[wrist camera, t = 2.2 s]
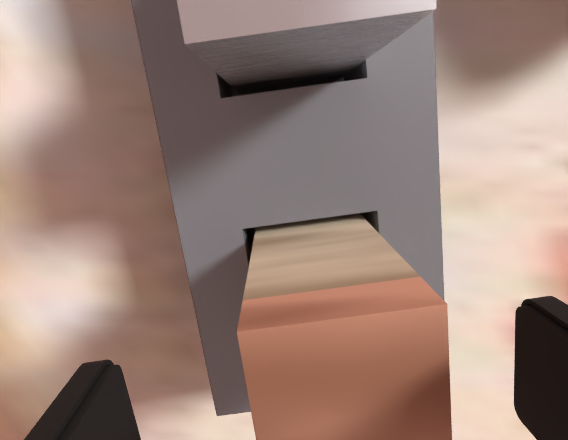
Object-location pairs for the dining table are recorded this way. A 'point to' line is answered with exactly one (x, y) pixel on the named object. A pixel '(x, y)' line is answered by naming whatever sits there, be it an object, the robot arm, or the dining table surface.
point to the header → (289, 167)
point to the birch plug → (341, 337)
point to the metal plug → (292, 37)
